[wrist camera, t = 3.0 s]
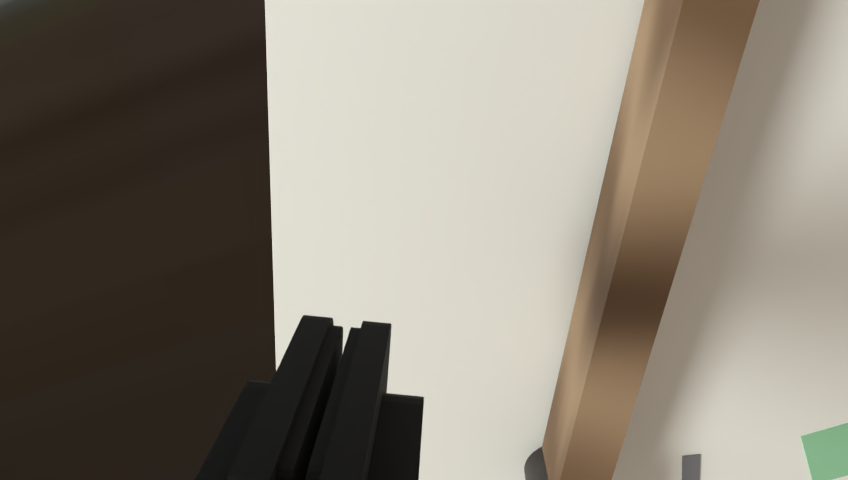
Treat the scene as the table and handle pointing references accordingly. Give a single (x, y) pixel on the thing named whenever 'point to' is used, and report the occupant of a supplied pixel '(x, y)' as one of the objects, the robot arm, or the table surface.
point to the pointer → (640, 225)
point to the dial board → (562, 226)
